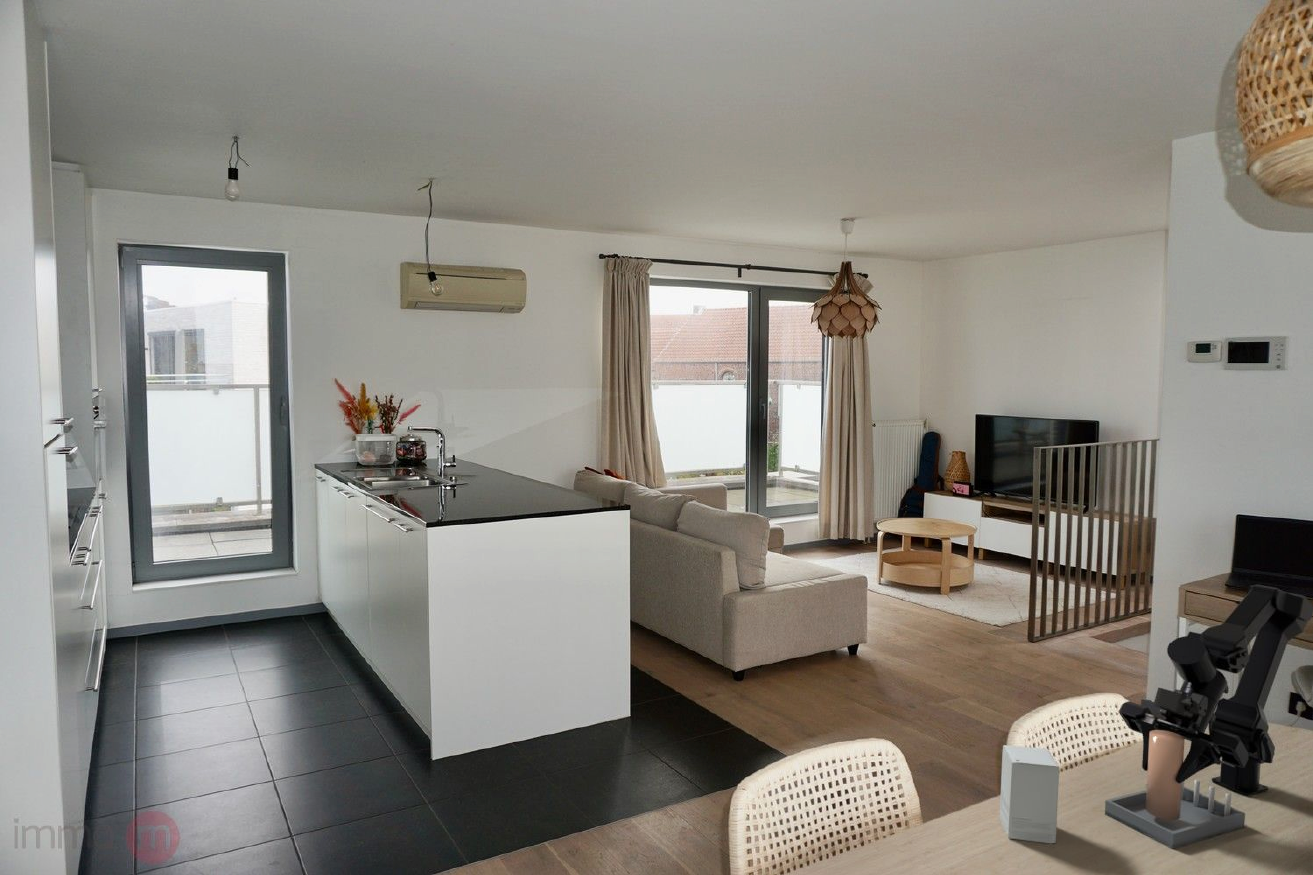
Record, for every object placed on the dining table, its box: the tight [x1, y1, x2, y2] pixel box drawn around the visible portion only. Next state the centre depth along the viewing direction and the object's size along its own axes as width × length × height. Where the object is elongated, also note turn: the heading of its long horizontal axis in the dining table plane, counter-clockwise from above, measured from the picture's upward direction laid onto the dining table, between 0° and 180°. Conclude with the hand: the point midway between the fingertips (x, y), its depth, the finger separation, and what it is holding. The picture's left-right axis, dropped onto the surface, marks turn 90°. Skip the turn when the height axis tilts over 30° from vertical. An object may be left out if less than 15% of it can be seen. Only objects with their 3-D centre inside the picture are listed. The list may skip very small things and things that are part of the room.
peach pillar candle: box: [1146, 730, 1186, 820], centre depth 144 cm, size 5×5×13 cm
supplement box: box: [999, 744, 1060, 844], centre depth 141 cm, size 7×7×13 cm
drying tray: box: [1104, 779, 1246, 850], centre depth 145 cm, size 18×12×5 cm, turn 114°
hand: (1160, 775), depth 143 cm, fingers closed on peach pillar candle, 5 cm apart
